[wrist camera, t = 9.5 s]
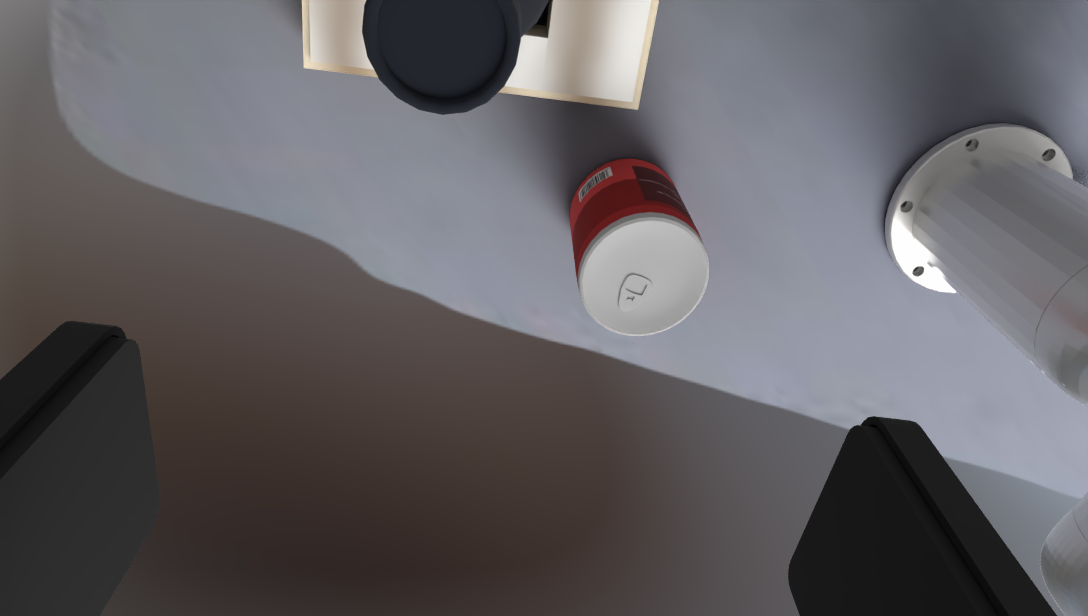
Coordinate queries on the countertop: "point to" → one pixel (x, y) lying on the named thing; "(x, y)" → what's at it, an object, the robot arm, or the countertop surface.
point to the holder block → (521, 48)
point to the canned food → (636, 249)
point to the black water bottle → (446, 48)
